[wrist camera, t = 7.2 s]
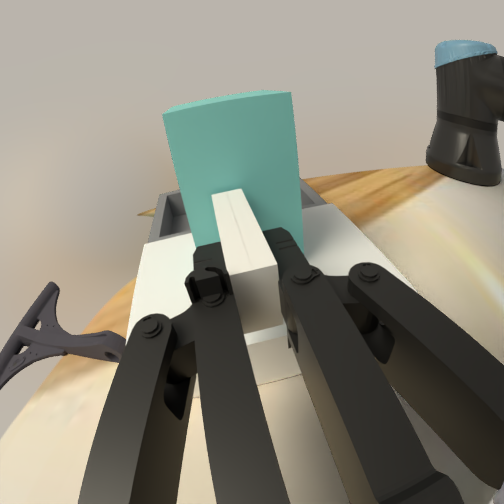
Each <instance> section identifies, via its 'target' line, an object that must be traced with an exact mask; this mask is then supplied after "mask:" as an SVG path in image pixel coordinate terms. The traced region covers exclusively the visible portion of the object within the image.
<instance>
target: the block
mask: <svg viewBox="0 0 504 504" xmlns="http://www.w3.org/2000/svg"><path fill="white" fill-rule="evenodd" d="M162 116H163V120H164V125H165V129H166V134H167V138H168V142H169V147H170V151H171V155H172V160H173V164H174V168H175V172H176V176H177V180H178V184H179V188H180V192H181V196H182V199H183V203H184V207H185V211H186V214H187V218H188V222H189V225H190V229H191V233H192V236H193V240H194V243H195V247H196V248H197V247H198V246H203V245H207V244H211V243H216V242H220V241H221V240H220V236H219V231H218V226H217V221H216V216H215V211H214V206H213V201H212V196H211V195H213V194H218V193H222V192H227V191H231V190H236V189H242V191H243V193H244V195H245V197H246V199H247V202H248V204H249V206H250V208H251V210H252V212H253V214H254V216H255V218H256V220H257V222H258V224H259V226H260V229H261V231H265V230H269V229H274V228H279V227H282V228H283V229H285V230H287V231H289V232H290V234H291V235H292V237H293V238H294V240H295V242H296V243H297V246H299V248H300V249H301V251H302V253H303V254H304V241H303V222H302V206H301V191H300V178H299V166H298V154H297V144H296V133H295V124H294V114H293V105H292V97H291V92H283V91H268V90H261V91H253V92H246V93H240V94H233V95H227V96H222V97H215V98H210V99H205V100H200V101H195V102H191V103H187V104H182V105H178V106H174V107H172V108H170V109H169V110H168V111H166V112H165V113H163V115H162Z"/></svg>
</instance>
